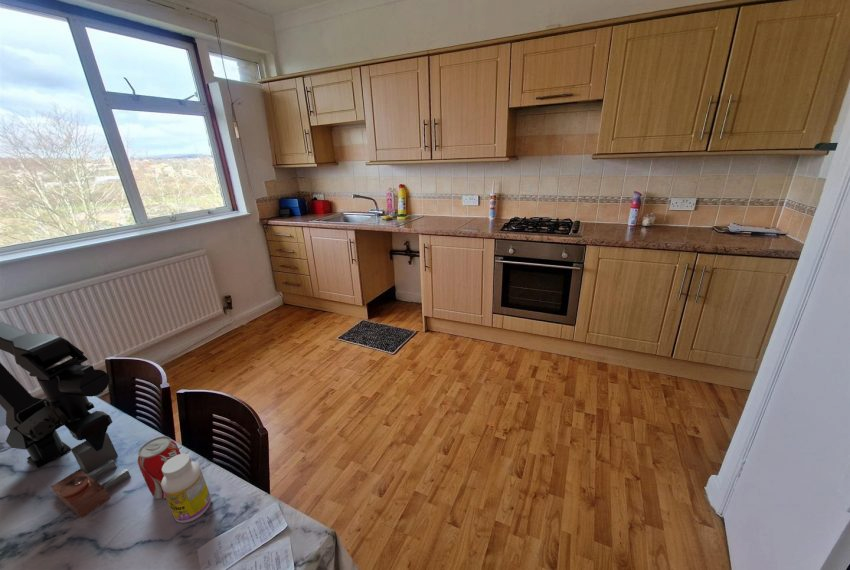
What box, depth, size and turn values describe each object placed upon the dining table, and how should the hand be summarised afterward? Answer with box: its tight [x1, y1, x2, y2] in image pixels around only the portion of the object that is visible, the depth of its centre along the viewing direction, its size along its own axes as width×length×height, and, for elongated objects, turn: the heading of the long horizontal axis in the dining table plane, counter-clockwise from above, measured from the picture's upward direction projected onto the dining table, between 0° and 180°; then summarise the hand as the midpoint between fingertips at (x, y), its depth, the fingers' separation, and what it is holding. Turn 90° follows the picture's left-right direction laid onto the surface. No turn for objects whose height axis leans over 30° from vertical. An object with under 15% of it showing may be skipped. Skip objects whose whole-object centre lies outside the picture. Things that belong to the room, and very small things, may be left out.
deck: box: [50, 459, 131, 519], centre depth 78 cm, size 12×10×4 cm
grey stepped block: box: [70, 431, 119, 475], centre depth 85 cm, size 4×6×7 cm, turn 153°
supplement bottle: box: [161, 453, 212, 524], centre depth 71 cm, size 7×7×13 cm
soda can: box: [137, 435, 182, 500], centre depth 76 cm, size 7×7×12 cm
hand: (90, 443), depth 84 cm, fingers open, 9 cm apart
